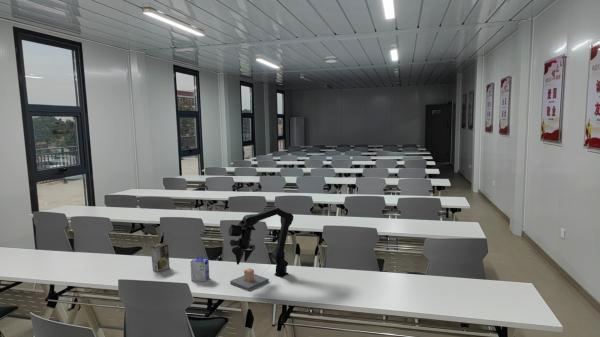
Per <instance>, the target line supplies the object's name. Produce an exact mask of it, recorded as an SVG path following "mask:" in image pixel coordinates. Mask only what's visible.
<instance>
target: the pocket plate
mask: <svg viewBox="0 0 600 337" xmlns="http://www.w3.org/2000/svg"><path fill="white" fill-rule="evenodd" d="M229 282H230V285H232V286H235V287H237V288H240V289H242V290H245V291H248V292H249V291H252V290H254V289H256V288H259V287H261V286H263V285H265V284H267V283H269V282H270V280H269V278H266V277H263V276H262V275H260V274H259V275H258V274H255V273H254V281H251V282H247V281H245V276H244V275H241V276H239V277H237V278H234V279H232V280H230V281H229Z"/></svg>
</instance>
